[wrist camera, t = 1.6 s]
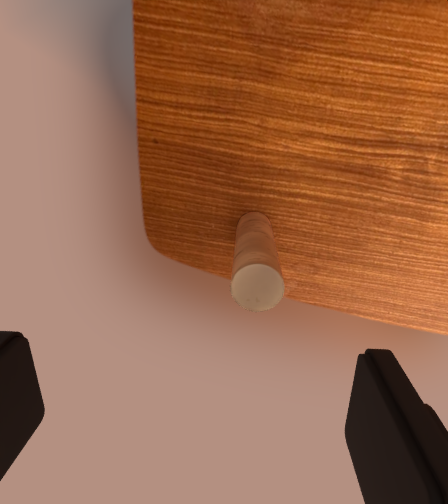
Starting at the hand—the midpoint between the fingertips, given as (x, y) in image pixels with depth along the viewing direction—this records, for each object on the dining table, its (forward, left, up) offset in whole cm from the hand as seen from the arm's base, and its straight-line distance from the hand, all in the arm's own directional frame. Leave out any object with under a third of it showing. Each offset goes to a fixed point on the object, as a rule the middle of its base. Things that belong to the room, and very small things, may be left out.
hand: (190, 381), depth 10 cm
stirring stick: (+3, -2, -22) cm, 23 cm away
